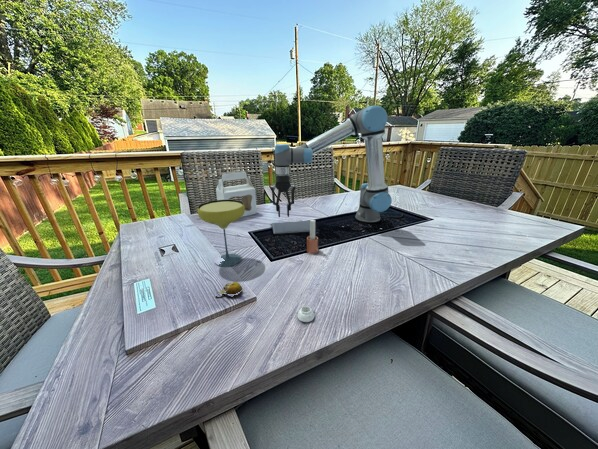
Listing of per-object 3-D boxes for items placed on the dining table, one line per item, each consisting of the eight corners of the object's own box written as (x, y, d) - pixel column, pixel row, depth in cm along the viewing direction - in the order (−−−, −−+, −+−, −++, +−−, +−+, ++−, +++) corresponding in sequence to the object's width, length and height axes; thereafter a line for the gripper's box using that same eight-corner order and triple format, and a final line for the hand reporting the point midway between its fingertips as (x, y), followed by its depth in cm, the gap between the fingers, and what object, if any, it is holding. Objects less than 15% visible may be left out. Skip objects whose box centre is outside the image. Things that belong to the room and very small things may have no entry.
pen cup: (316, 248, 117) (316, 235, 115) (319, 253, 113) (319, 239, 110) (305, 249, 117) (305, 236, 114) (307, 254, 112) (308, 240, 109)
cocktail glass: (226, 276, 96) (218, 215, 87) (196, 263, 105) (187, 207, 96) (257, 257, 110) (253, 203, 101) (228, 247, 119) (222, 197, 110)
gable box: (248, 209, 178) (245, 169, 169) (257, 213, 169) (254, 172, 159) (218, 215, 166) (213, 173, 156) (226, 220, 156) (221, 175, 146)
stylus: (314, 249, 116) (314, 219, 110) (315, 251, 114) (316, 221, 108) (309, 249, 115) (309, 219, 110) (310, 252, 113) (310, 221, 108)
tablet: (309, 222, 152) (309, 220, 152) (315, 232, 136) (315, 230, 136) (271, 224, 149) (271, 222, 148) (273, 235, 133) (273, 233, 133)
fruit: (227, 283, 91) (226, 275, 89) (247, 287, 88) (246, 279, 87) (213, 297, 83) (211, 288, 82) (234, 302, 81) (233, 292, 80)
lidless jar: (300, 309, 77) (295, 320, 73) (300, 302, 76) (294, 312, 72) (316, 313, 76) (311, 325, 71) (316, 305, 75) (311, 316, 70)
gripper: (266, 176, 126) (268, 219, 134) (300, 175, 129) (300, 217, 137) (265, 173, 133) (267, 214, 141) (297, 173, 136) (297, 213, 144)
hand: (283, 216), depth 139 cm, fingers open, 4 cm apart
